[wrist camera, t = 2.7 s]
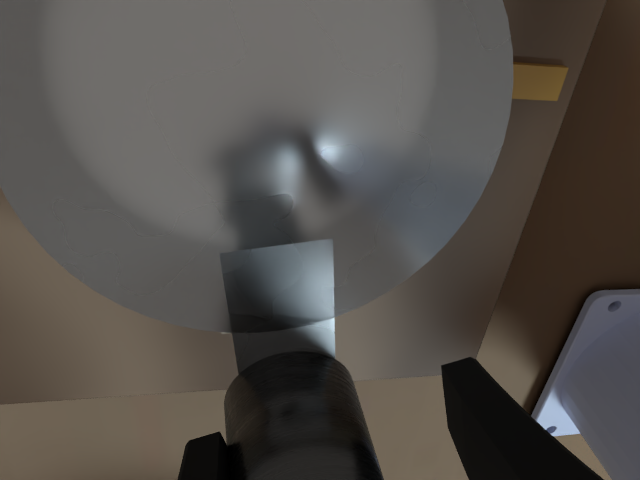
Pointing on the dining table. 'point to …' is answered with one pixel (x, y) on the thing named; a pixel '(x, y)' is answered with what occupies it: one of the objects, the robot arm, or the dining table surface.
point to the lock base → (350, 328)
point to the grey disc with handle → (255, 177)
